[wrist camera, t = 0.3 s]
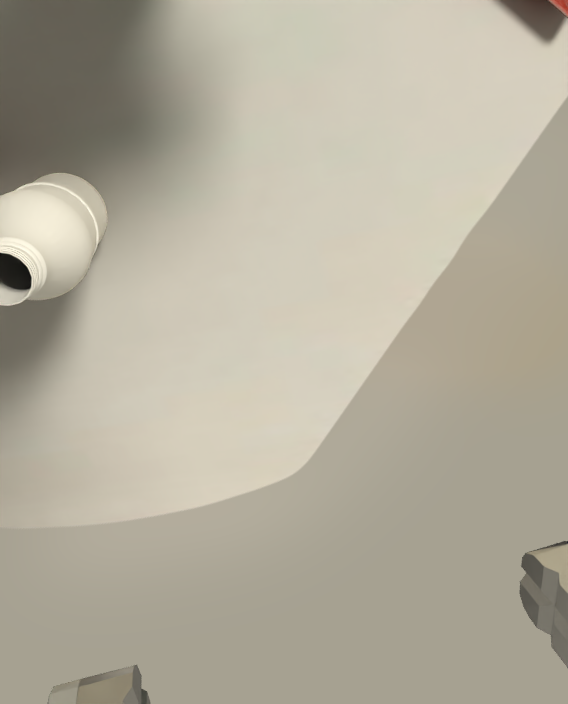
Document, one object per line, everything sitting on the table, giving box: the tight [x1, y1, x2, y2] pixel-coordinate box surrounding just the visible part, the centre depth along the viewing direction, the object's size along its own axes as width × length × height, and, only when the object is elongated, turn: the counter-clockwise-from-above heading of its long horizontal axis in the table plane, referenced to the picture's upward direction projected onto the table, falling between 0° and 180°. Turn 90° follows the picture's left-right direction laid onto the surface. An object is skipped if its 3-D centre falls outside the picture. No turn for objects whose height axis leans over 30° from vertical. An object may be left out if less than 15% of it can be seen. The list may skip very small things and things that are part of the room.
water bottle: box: [0, 173, 108, 306], centre depth 39 cm, size 7×7×25 cm
